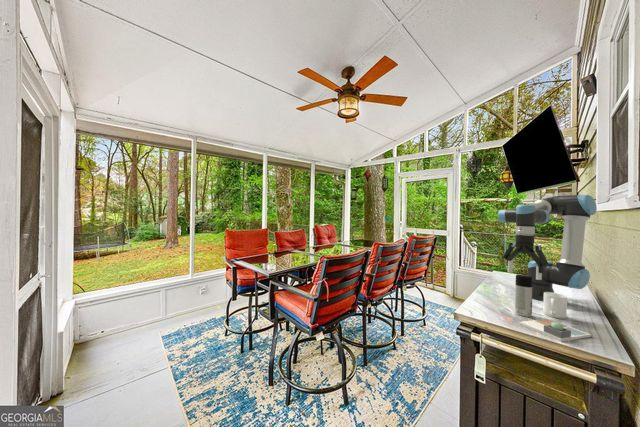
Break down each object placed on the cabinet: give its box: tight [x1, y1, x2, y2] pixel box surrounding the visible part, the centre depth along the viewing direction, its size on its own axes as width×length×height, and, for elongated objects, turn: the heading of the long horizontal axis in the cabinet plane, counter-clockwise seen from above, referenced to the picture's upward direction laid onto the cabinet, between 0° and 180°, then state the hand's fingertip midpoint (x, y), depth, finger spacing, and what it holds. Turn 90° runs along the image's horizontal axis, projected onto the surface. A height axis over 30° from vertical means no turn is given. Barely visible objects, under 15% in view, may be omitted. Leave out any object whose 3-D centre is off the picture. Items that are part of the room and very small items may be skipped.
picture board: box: [518, 318, 592, 342], centre depth 108 cm, size 18×16×4 cm
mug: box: [542, 292, 568, 320], centre depth 124 cm, size 9×12×11 cm
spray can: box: [514, 273, 533, 318], centre depth 125 cm, size 7×7×20 cm
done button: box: [551, 321, 564, 331], centre depth 102 cm, size 4×4×3 cm
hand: (523, 276), depth 125 cm, fingers open, 13 cm apart
